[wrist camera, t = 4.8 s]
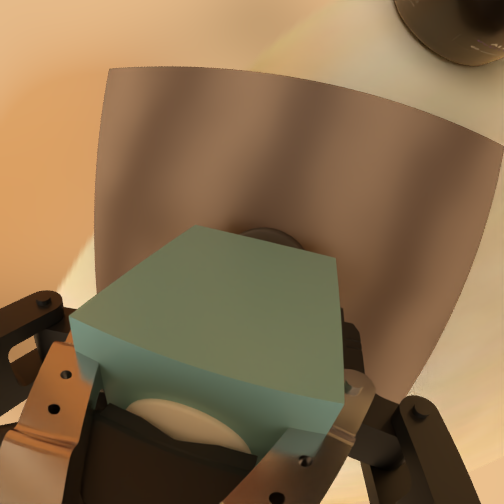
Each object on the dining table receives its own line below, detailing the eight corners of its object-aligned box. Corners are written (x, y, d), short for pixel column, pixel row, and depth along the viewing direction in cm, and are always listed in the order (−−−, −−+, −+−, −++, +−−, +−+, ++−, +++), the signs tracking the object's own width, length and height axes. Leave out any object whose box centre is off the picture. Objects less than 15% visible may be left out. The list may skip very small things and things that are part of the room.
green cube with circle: (335, 258, 11) (344, 412, 4) (299, 368, 13) (272, 516, 6) (195, 224, 11) (62, 320, 5) (185, 336, 13) (101, 456, 7)
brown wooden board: (485, 144, 12) (601, 160, 4) (381, 406, 19) (390, 513, 10) (129, 73, 15) (9, 51, 7) (117, 334, 21) (45, 409, 13)
